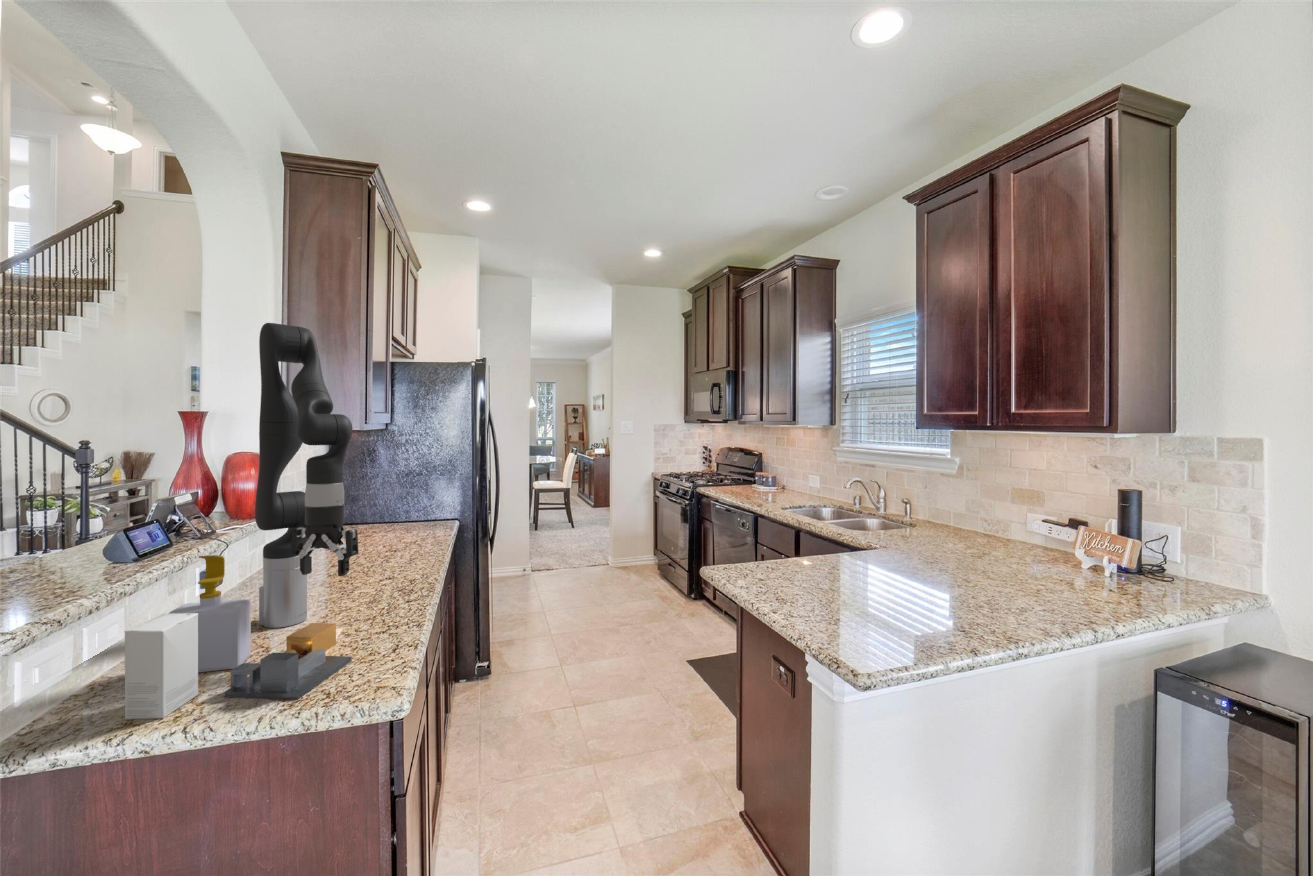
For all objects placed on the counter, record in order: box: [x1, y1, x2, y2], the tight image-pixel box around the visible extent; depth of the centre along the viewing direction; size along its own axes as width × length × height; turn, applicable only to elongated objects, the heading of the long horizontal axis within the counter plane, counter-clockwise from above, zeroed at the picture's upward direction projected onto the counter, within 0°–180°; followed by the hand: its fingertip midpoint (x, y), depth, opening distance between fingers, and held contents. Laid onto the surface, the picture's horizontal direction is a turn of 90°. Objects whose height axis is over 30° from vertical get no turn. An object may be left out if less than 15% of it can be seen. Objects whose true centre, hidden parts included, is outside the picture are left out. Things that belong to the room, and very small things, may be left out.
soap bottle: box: [167, 554, 252, 673], centre depth 110 cm, size 12×7×23 cm, turn 108°
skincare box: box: [124, 613, 199, 720], centre depth 94 cm, size 8×7×16 cm
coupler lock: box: [286, 622, 337, 655], centre depth 117 cm, size 6×8×5 cm
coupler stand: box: [223, 649, 352, 700], centre depth 105 cm, size 14×16×7 cm
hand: (324, 574), depth 119 cm, fingers open, 8 cm apart
